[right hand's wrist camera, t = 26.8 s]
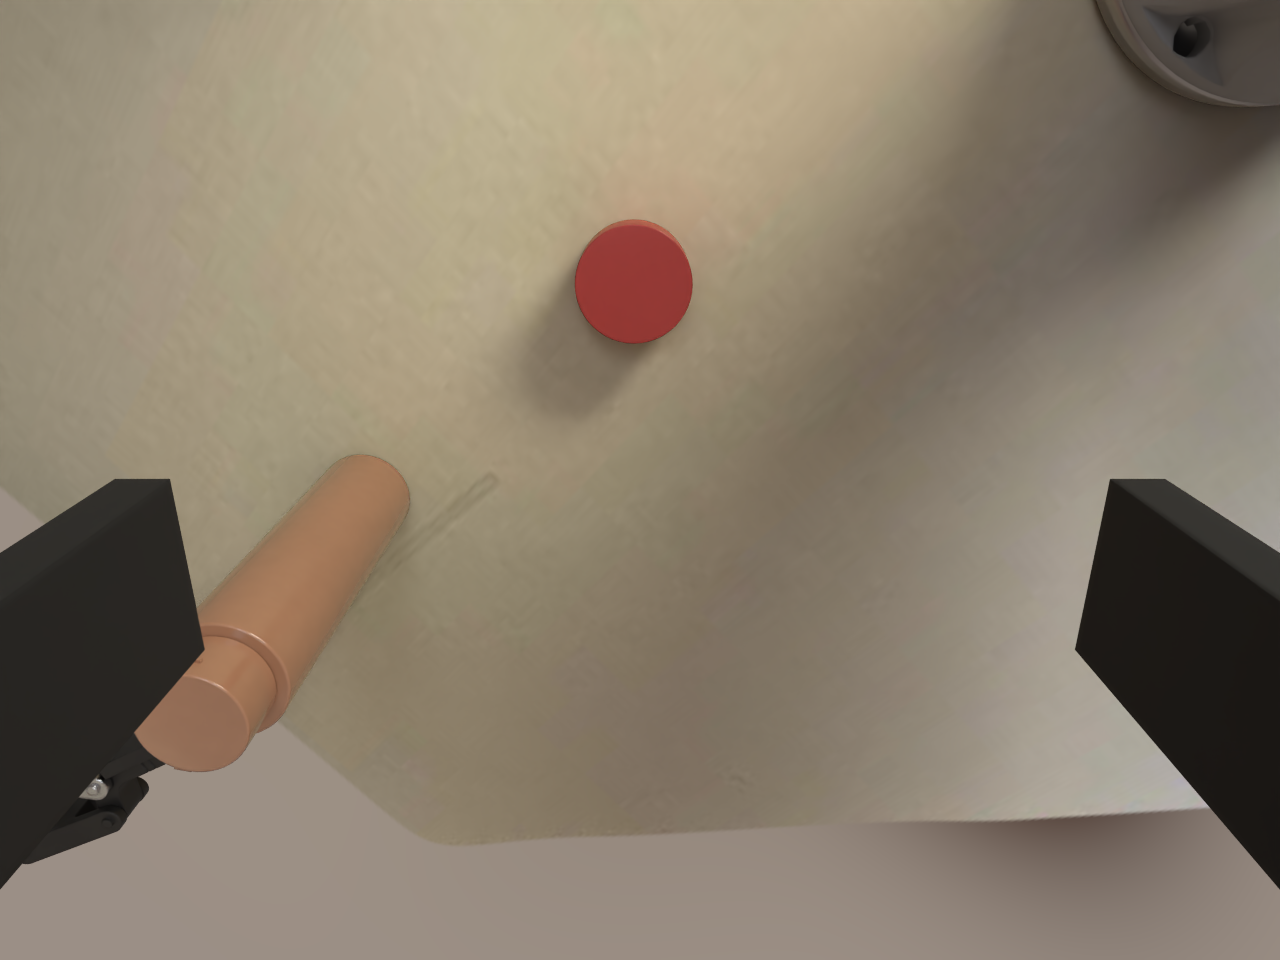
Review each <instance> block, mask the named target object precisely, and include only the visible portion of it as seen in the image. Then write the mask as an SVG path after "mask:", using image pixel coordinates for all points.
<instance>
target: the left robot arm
mask: <svg viewBox="0 0 1280 960" xmlns="http://www.w3.org/2000/svg"><path fill="white" fill-rule="evenodd" d="M162 765H165V763H164V762H162V761H160V760H158V759H157V758H156V757H154V756H153V755H152V754H150V753H149V752H148V751H147V750H146V749H145V748H144V747H143V746H142V744H141V743H140V742H139V740H138V739H137V737H136V735H135V733H133V734H132V736H131V737H130V738H129V739H128V740H127V741H126V743H125V744H124V745H123V746H122V747H121V748H120V750H119V751H118V752H117V753H116V754H115V756H114V757H113V758H112V759H111V760H110V761H109V763H108V764H107V765H106V766H105V767H104V768H103V770H102V771H101V772H100V773H99V774H98V775H97V777H96V778H95V779H94V780H93V781H92V782H91V784H90V785H89V786H88V787H87V788H86V789H85V791H84V792H83V793H82V794H81V795H80V796H79V798H78V799H77V800H76V801H75V802H74V804H73V805H72V806H71V807H70V808H69V809H68V811H67V812H66V813H65V814H64V815H63V816H62V818H61V819H60V820H59V821H58V822H57V823H56V825H55V826H54V827H53V828H52V829H51V830H50V832H49V833H48V834H47V835H46V836H45V837H44V839H43V840H42V841H41V842H40V843H39V844H38V846H37V847H36V848H35V849H34V850H33V852H32V853H31V854H30V855H29V856H28V857H27V859H26V860H25V861H24V862H23V864H31V863H34V862H36V861H39V860H42V859H44V858H47V857H50V856H52V855H55V854H58V853H61V852H63V851H66V850H69V849H71V848H74V847H77V846H79V845H82V844H85V843H87V842H90V841H93V840H95V839H98V838H101V837H103V836H106V835H109V834H111V833H114V832H117V831H118V830H120V828H121V827H122V826H123V824H124V823H125V822H126V820H127V817H128V816H129V815H130V814H131V812H132V811H133V809H134V808H135V807H136V806H137V804H138V803H139V802H140V801H141V800H142V799H143V798H144V797H145V795H146V794H147V792H148V790H149V786H148V784H147V782H146V781H145V780H143V779H142V778H140V777H138V776H141V775H143V774H145V773H147V772H148V771H152V770H154V769H155V768H158V767H160V766H162Z"/></svg>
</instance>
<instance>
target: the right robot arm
mask: <svg viewBox="0 0 1280 960" xmlns="http://www.w3.org/2000/svg"><path fill="white" fill-rule="evenodd" d="M1096 1H1097V5H1098V7H1099V10H1100V12H1101V14H1102V17H1103V19H1104V21H1105V24H1106V25H1107V27H1108V29H1109V31H1110V32H1111V34H1112V36H1113V38H1114V40H1115V41H1116V42H1117V44H1118V45H1119V46H1120V48H1121V49H1122V51H1123V52H1124V53H1125V55H1126V56H1127V57H1128V58H1129V59H1130V60H1131V61H1132V62H1133V63H1134V64H1135V65H1136V67H1138V68H1139V69H1140V70H1141V71H1142V72H1143V73H1145V74H1146V75H1147V76H1148V77H1149V78H1151V79H1152V80H1154V81H1155V82H1157V83H1158V84H1160V85H1161V86H1163V87H1164V88H1166V89H1168V90H1170V91H1172V92H1174V93H1176V94H1178V95H1180V96H1183V97H1186V98H1189V99H1192V100H1194V101H1198V102H1203V103H1207V104H1211V105H1219V106H1228V107H1254V106H1272V105H1280V0H1096ZM204 650H205V648H204V643H203V638H202V633H201V628H200V623H199V618H198V614H197V609H196V604H195V599H194V594H193V589H192V584H191V580H190V575H189V570H188V565H187V560H186V555H185V550H184V546H183V541H182V536H181V531H180V526H179V521H178V516H177V512H176V507H175V502H174V497H173V492H172V487H171V482H170V479H114V480H113V481H111V482H110V483H108V484H106V485H105V486H103V487H102V488H100V489H99V490H97V491H96V492H94V493H93V494H91V495H89V496H88V497H86V498H85V499H83V500H82V501H80V502H79V503H77V504H75V505H74V506H72V507H71V508H69V509H68V510H66V511H65V512H63V513H62V514H60V515H58V516H57V517H55V518H54V519H52V520H51V521H49V522H48V523H46V524H44V525H43V526H41V527H40V528H38V529H37V530H35V531H34V532H32V533H31V534H29V535H27V536H26V537H24V538H23V539H21V540H20V541H18V542H17V543H15V544H14V545H12V546H10V547H9V548H7V549H6V550H4V551H3V552H1V553H0V889H1V888H2V887H3V885H4V884H5V883H6V882H7V881H8V880H9V878H10V877H11V876H12V875H13V874H14V873H15V871H16V870H17V869H18V868H19V867H20V866H21V864H22V863H23V862H24V861H25V860H26V859H27V857H28V856H29V855H30V854H31V853H32V852H33V850H34V849H35V848H36V847H37V846H38V844H39V843H40V842H41V841H42V840H43V839H44V837H45V836H46V835H47V834H48V833H49V832H50V830H51V829H52V828H53V827H54V826H55V825H56V823H57V822H58V821H59V820H60V819H61V818H62V816H63V815H64V814H65V813H66V812H67V811H68V809H69V808H70V807H71V806H72V805H73V804H74V802H75V801H76V800H77V799H78V798H79V796H80V795H81V794H82V793H83V792H84V791H85V789H86V788H87V787H88V786H89V785H90V784H91V782H92V781H93V780H94V779H95V778H96V777H97V775H98V774H99V773H100V772H101V771H102V770H103V768H104V767H105V766H106V765H107V764H108V763H109V761H110V760H111V759H112V758H113V757H114V756H115V754H116V753H117V752H118V751H119V750H120V748H121V747H122V746H123V745H124V744H125V743H126V741H127V740H128V739H129V738H130V737H131V736H132V734H133V733H134V732H135V731H136V730H137V729H138V727H139V726H140V725H141V724H142V723H143V722H144V720H145V719H146V718H147V717H148V716H149V715H150V713H151V712H152V711H153V710H154V709H155V708H156V706H157V705H158V704H159V703H160V702H161V700H162V699H163V698H164V697H165V696H166V695H167V693H168V692H169V691H170V690H171V689H172V688H173V686H174V685H175V684H176V683H177V682H178V681H179V679H180V678H181V677H182V676H183V675H184V674H185V672H186V671H187V670H188V669H189V668H190V667H191V665H192V664H193V663H194V662H195V661H196V660H197V658H198V657H199V656H200V655H201V654H202V652H203V651H204ZM1075 650H1076V651H1077V652H1078V654H1079V655H1080V656H1081V657H1082V658H1083V660H1084V661H1085V662H1086V663H1087V664H1088V665H1089V667H1090V668H1091V669H1092V670H1093V671H1094V672H1095V674H1096V675H1097V676H1098V677H1099V678H1100V679H1101V681H1102V682H1103V683H1104V684H1105V685H1106V686H1107V688H1108V689H1109V690H1110V691H1111V692H1112V693H1113V695H1114V696H1115V697H1116V698H1117V699H1118V700H1119V702H1120V703H1121V704H1122V705H1123V706H1124V708H1125V709H1126V710H1127V711H1128V712H1129V713H1130V715H1131V716H1132V717H1133V718H1134V719H1135V720H1136V722H1137V723H1138V724H1139V725H1140V726H1141V727H1142V729H1143V730H1144V731H1145V732H1146V733H1147V734H1148V736H1149V737H1150V738H1151V739H1152V740H1153V741H1154V743H1155V744H1156V745H1157V746H1158V747H1159V748H1160V750H1161V751H1162V752H1163V753H1164V754H1165V756H1166V757H1167V758H1168V759H1169V760H1170V761H1171V763H1172V764H1173V765H1174V766H1175V767H1176V768H1177V770H1178V771H1179V772H1180V773H1181V774H1182V775H1183V777H1184V778H1185V779H1186V780H1187V781H1188V782H1189V784H1190V785H1191V786H1192V787H1193V788H1194V789H1195V791H1196V792H1197V793H1198V794H1199V795H1200V796H1201V798H1202V799H1203V800H1204V801H1205V802H1206V804H1207V805H1208V806H1209V807H1210V808H1211V809H1212V811H1213V812H1214V813H1215V814H1216V815H1217V816H1218V818H1219V819H1220V820H1221V821H1222V822H1223V823H1224V825H1225V826H1226V827H1227V828H1228V829H1229V830H1230V832H1231V833H1232V834H1233V835H1234V836H1235V837H1236V839H1237V840H1238V841H1239V842H1240V843H1241V844H1242V846H1243V847H1244V848H1245V849H1246V850H1247V851H1248V853H1249V854H1250V855H1251V856H1252V857H1253V859H1254V860H1255V861H1256V862H1257V863H1258V864H1259V866H1260V867H1261V868H1262V869H1263V870H1264V871H1265V873H1266V874H1267V875H1268V876H1269V877H1270V878H1271V880H1272V881H1273V882H1274V883H1275V884H1276V885H1277V887H1278V888H1279V889H1280V553H1279V552H1277V551H1276V550H1274V549H1273V548H1271V547H1270V546H1268V545H1267V544H1265V543H1263V542H1262V541H1260V540H1259V539H1257V538H1256V537H1254V536H1253V535H1251V534H1249V533H1248V532H1246V531H1245V530H1243V529H1242V528H1240V527H1239V526H1237V525H1236V524H1234V523H1232V522H1231V521H1229V520H1228V519H1226V518H1225V517H1223V516H1222V515H1220V514H1218V513H1217V512H1215V511H1214V510H1212V509H1211V508H1209V507H1208V506H1206V505H1205V504H1203V503H1201V502H1200V501H1198V500H1197V499H1195V498H1194V497H1192V496H1191V495H1189V494H1187V493H1186V492H1184V491H1183V490H1181V489H1180V488H1178V487H1177V486H1175V485H1174V484H1172V483H1170V482H1169V481H1167V480H1166V479H1110V482H1109V487H1108V492H1107V497H1106V502H1105V507H1104V512H1103V516H1102V521H1101V526H1100V531H1099V536H1098V541H1097V546H1096V550H1095V555H1094V560H1093V565H1092V570H1091V575H1090V580H1089V584H1088V589H1087V594H1086V599H1085V604H1084V609H1083V614H1082V618H1081V623H1080V628H1079V633H1078V638H1077V643H1076V648H1075Z"/></svg>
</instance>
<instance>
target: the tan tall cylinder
mask: <svg viewBox="0 0 1280 960" xmlns="http://www.w3.org/2000/svg"><path fill="white" fill-rule="evenodd" d="M409 505H410V497H409V491H408V488H407V485H406V483H405V481H404V479H403V477H402V476H401V475H400V473H399V472H398V471H397V470H396V469H395V468H394V467H393V466H391V465H390V464H388V463H387V462H385V461H383V460H381V459H379V458H376V457H373V456H368V455H353V456H348V457H345V458H343V459H340V460H339V461H337V462H336V463H334V464H333V465H332V466H331V467H330V468H329V469H328V470H327V471H326V472H325V473H324V474H323V475H322V476H321V477H320V478H319V480H318V481H317V482H316V483H315V484H314V485H313V486H312V487H311V488H310V489H309V490H308V491H307V492H306V493H305V494H304V495H303V496H302V497H301V499H300V500H299V501H298V502H297V503H296V504H295V505H294V506H293V507H292V508H291V509H290V510H289V511H288V512H287V513H286V514H285V515H284V516H283V517H282V519H281V520H280V521H279V522H278V523H277V524H276V525H275V526H274V527H273V528H272V529H271V530H270V531H269V532H268V533H267V534H266V535H265V536H264V538H263V539H262V540H261V541H260V542H259V543H258V544H257V545H256V546H255V547H254V548H253V549H252V550H251V551H250V552H249V553H248V554H247V555H246V557H245V558H244V559H243V560H242V561H241V562H240V563H239V564H238V565H237V566H236V567H235V568H234V569H233V570H232V571H231V572H230V573H229V574H228V576H227V577H226V578H225V579H224V580H223V581H222V582H221V583H220V584H219V585H218V586H217V587H216V588H215V589H214V590H213V591H212V592H211V593H210V595H209V596H208V597H207V598H206V599H205V600H204V601H203V602H202V603H201V604H200V605H199V606H198V607H197V608H196V609H197V614H198V618H199V623H200V628H201V633H202V638H203V643H204V648H205V650H204V651H203V652H202V654H201V655H200V656H199V657H198V658H197V660H196V661H195V662H194V663H193V664H192V665H191V667H190V668H189V669H188V670H187V671H186V672H185V674H184V675H183V676H182V677H181V678H180V679H179V681H178V682H177V683H176V684H175V685H174V686H173V688H172V689H171V690H170V691H169V692H168V693H167V695H166V696H165V697H164V698H163V699H162V700H161V702H160V703H159V704H158V705H157V706H156V708H155V709H154V710H153V711H152V712H151V713H150V715H149V716H148V717H147V718H146V719H145V720H144V722H143V723H142V724H141V725H140V726H139V727H138V729H137V730H136V731H135V732H134V733H135V735H136V737H137V739H138V740H139V742H140V743H141V744H142V746H143V747H144V748H145V749H146V750H147V751H148V752H149V753H150V754H152V755H153V756H154V757H156V758H157V759H158V760H160V761H162V762H164V763H165V764H168V765H170V766H172V767H174V769H177V770H183V771H188V772H192V771H193V772H207V771H214V770H218V769H221V768H223V767H225V766H227V765H229V764H231V763H233V762H234V761H236V760H237V759H238V758H239V757H240V756H241V755H242V753H243V752H244V751H245V749H246V748H247V746H248V745H249V743H250V742H251V740H252V738H253V737H254V735H255V734H256V733H259V732H261V731H263V730H265V729H267V728H269V727H270V726H272V725H273V724H274V723H276V722H277V721H278V720H279V719H280V718H281V716H282V715H283V714H284V712H285V711H286V709H287V707H288V706H289V704H290V703H291V701H292V699H293V698H294V696H295V695H296V693H297V691H298V690H299V688H300V686H301V685H302V683H303V682H304V680H305V678H306V677H307V675H308V674H309V672H310V670H311V669H312V667H313V666H314V664H315V662H316V661H317V659H318V658H319V656H320V654H321V653H322V651H323V649H324V648H325V646H326V645H327V643H328V641H329V640H330V638H331V637H332V635H333V633H334V632H335V630H336V629H337V627H338V625H339V624H340V622H341V621H342V619H343V617H344V616H345V614H346V612H347V611H348V609H349V608H350V606H351V604H352V603H353V601H354V600H355V598H356V596H357V595H358V593H359V592H360V590H361V588H362V587H363V585H364V584H365V582H366V580H367V579H368V577H369V575H370V574H371V572H372V571H373V569H374V567H375V566H376V564H377V563H378V561H379V559H380V558H381V556H382V555H383V553H384V551H385V550H386V548H387V547H388V545H389V543H390V542H391V540H392V538H393V537H394V535H395V534H396V532H397V530H398V529H399V527H400V526H401V524H402V522H403V521H404V519H405V517H406V515H407V513H408V510H409Z"/></svg>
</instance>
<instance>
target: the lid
mask: <svg viewBox="0 0 1280 960" xmlns="http://www.w3.org/2000/svg"><path fill="white" fill-rule="evenodd" d="M575 292H576V297H577V301H578V304H579V307H580V309H581V311H582V313H583V315H584V316H585V318H586V319H587V321H588V322H589V323H590V324H591V325H592V326H593V327H594V328H595V329H596V330H597V331H599V332H600V333H601V334H603V335H605V336H606V337H608V338H611V339H613V340H616V341H619V342H624V343H644V342H649V341H652V340H655V339H657V338H659V337H661V336H663V335H665V334H666V333H668V332H669V331H670V330H672V329H673V328H674V327H675V326H676V325H677V324H678V322H679V321H680V320H681V319H682V317H683V316H684V314H685V312H686V310H687V308H688V305H689V303H690V299H691V295H692V274H691V269H690V266H689V263H688V260H687V257H686V255H685V253H684V251H683V249H682V247H681V245H680V244H679V242H678V241H677V240H676V239H675V238H674V236H673V235H671V234H670V233H669V232H668V231H667V230H665V229H664V228H662V227H660V226H658V225H656V224H654V223H651V222H648V221H643V220H624V221H620V222H617V223H614V224H611V225H609V226H607V227H606V228H604V229H603V230H601V231H600V232H599V233H598V234H596V235H595V236H594V237H593V239H592V240H591V241H590V242H589V244H588V245H587V247H586V249H585V250H584V252H583V254H582V256H581V259H580V261H579V263H578V267H577V270H576V276H575Z"/></svg>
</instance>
